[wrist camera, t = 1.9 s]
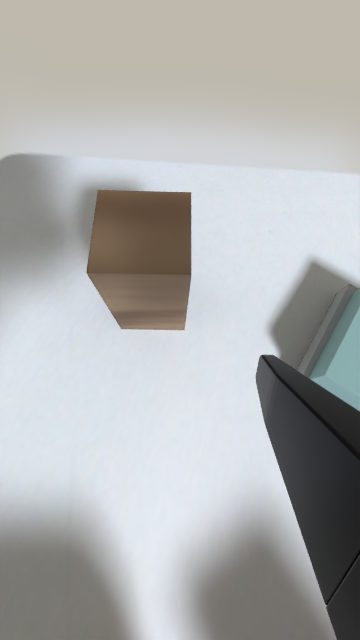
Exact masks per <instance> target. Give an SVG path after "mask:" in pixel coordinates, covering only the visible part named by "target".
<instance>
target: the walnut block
mask: <svg viewBox="0 0 360 640" xmlns="http://www.w3.org/2000/svg"><path fill="white" fill-rule="evenodd" d="M87 274H88V276H89V278H90V279H91V281H92V282H93V284H94V286H95V287H96V289H97V290H98V292H99V294H100V295H101V297H102V298H103V300H104V302H105V303H106V305H107V307H108V308H109V310H110V311H111V313H112V315H113V316H114V318H115V319H116V321H117V323H118V324H119V326H120V327H121V329H153V330H184V329H185V321H186V313H187V305H188V297H189V289H190V281H191V192H151V191H111V190H98V194H97V201H96V209H95V216H94V223H93V230H92V237H91V244H90V252H89V259H88V266H87Z"/></svg>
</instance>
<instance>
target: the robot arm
mask: <svg viewBox="0 0 360 640" xmlns="http://www.w3.org/2000/svg"><path fill="white" fill-rule="evenodd" d="M256 384H257V389H258V394H259V398H260V403H261V408H262V413H263V417H264V422H265V425H266V429H267V432H268V435H269V438H270V441H271V444H272V447H273V450H274V453H275V456H276V459H277V462H278V465H279V468H280V471H281V474H282V477H283V480H284V483H285V486H286V488H287V491H288V494H289V497H290V500H291V503H292V506H293V509H294V512H295V515H296V518H297V521H298V524H299V527H300V530H301V533H302V536H303V539H304V542H305V545H306V548H307V551H308V554H309V557H310V560H311V563H312V566H313V569H314V572H315V575H316V578H317V581H318V584H319V587H320V590H321V593H322V596H323V599H324V602H325V604H326V605H327V606H326V609H327V612H328V615H329V617H330V620H331V623H332V626H333V629H334V632H335V635H336V638H337V640H360V411H359V410H357V409H355V408H354V407H352V406H351V405H349V404H348V403H346V402H345V401H343V400H342V399H340V398H339V397H337V396H336V395H334V394H332V393H331V392H329V391H328V390H326V389H325V388H323V387H322V386H320V385H319V384H317V383H316V382H314V381H312V380H311V379H309V378H308V377H306V376H305V375H303V374H302V373H300V372H299V371H297V370H296V369H294V368H292V367H291V366H289V365H288V364H286V363H285V362H283V361H282V360H280V359H279V358H277V357H276V356H274V355H261V356H260V358H259V362H258V367H257V373H256Z"/></svg>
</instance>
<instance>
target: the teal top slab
mask: <svg viewBox="0 0 360 640" xmlns="http://www.w3.org/2000/svg"><path fill="white" fill-rule="evenodd" d="M309 379H311V380H312V381H314V382H316V383H317V384H319V385H320V386H322V387H323V388H325V389H326V390H328V391H329V392H331V393H332V394H334V395H336V396H337V397H339V398H340V399H342V400H343V401H345V402H346V403H348V404H349V405H351V406H352V407H354V408H355V409H357V410H359V411H360V288H359V289H358V290H356V291H355V292H354V293H353V295H352V296H351V298H350V300H349V302H348V304H347V306H346V308H345V310H344V312H343V313H342V315H341V317H340V319H339V321H338V323H337V325H336V327H335V329H334V330H333V332H332V334H331V336H330V338H329V340H328V342H327V344H326V346H325V348H324V349H323V351H322V353H321V355H320V357H319V359H318V361H317V363H316V365H315V366H314V368H313V370H312V372H311V374H310V376H309Z"/></svg>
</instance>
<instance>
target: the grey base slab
mask: <svg viewBox="0 0 360 640" xmlns="http://www.w3.org/2000/svg"><path fill="white" fill-rule="evenodd" d="M356 290H358V289H357V288H355V287H354V286H352V285H350V284H349V285H347V286H346V287H345V288H343V289H342V290H341V291H339V292H338V293H337V294H336V296H335V298H334V300H333V302H332V304H331V306H330V308H329V309H328V311H327V313H326V315H325V317H324V319H323V321H322V323H321V325H320V327H319V329H318V330H317V332H316V334H315V336H314V338H313V340H312V342H311V344H310V346H309V348H308V349H307V351H306V353H305V355H304V357H303V359H302V361H301V363H300V365H299V367H298V369H297V371H299V372H300V373H302V374H303V375H305V376H306V377H308V378H309V376H310V374H311V372H312V370H313V368H314V366H315V365H316V363H317V361H318V359H319V357H320V355H321V353H322V351H323V349H324V348H325V346H326V344H327V342H328V340H329V338H330V336H331V334H332V332H333V330H334V329H335V327H336V325H337V323H338V321H339V319H340V317H341V315H342V313H343V312H344V310H345V308H346V306H347V304H348V302H349V300H350V298H351V296H352V295H353V293H354V292H355V291H356Z"/></svg>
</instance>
